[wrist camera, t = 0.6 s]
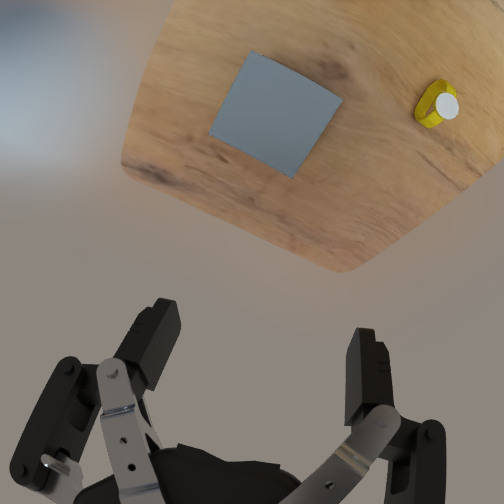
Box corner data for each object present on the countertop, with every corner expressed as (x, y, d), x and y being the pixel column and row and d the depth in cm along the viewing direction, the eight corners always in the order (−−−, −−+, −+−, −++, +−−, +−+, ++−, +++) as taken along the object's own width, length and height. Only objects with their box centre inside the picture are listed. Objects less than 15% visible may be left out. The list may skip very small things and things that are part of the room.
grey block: (261, 54, 23) (250, 50, 18) (337, 95, 23) (343, 99, 19) (224, 124, 27) (208, 134, 23) (295, 162, 28) (292, 178, 24)
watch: (427, 75, 24) (450, 73, 19) (444, 90, 24) (470, 92, 19) (403, 114, 27) (424, 119, 22) (421, 128, 27) (444, 136, 22)
